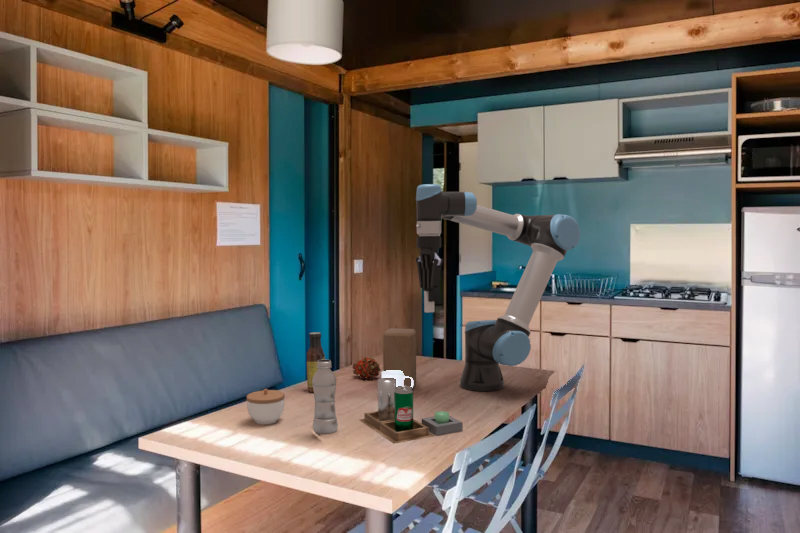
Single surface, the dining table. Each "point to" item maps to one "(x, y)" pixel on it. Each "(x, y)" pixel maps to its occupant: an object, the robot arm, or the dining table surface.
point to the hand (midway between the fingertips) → (429, 311)
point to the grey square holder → (443, 426)
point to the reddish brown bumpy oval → (366, 368)
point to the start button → (441, 417)
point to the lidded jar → (265, 406)
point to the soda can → (403, 408)
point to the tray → (389, 433)
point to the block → (400, 352)
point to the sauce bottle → (313, 357)
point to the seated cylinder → (386, 398)
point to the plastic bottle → (324, 399)
